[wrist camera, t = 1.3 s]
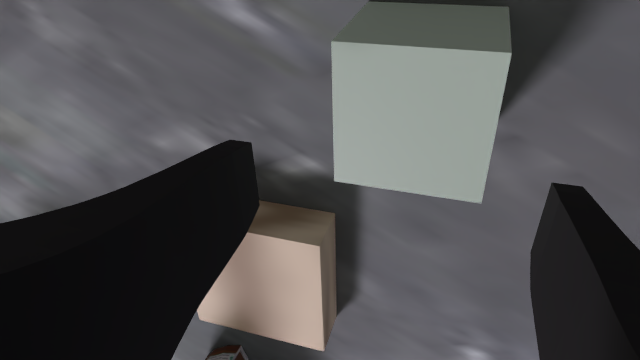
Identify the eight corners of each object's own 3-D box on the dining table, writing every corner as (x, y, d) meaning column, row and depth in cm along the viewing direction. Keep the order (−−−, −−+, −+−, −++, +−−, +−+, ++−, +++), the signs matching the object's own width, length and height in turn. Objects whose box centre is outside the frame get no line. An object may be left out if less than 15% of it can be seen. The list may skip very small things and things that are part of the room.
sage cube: (508, 6, 16) (511, 52, 12) (484, 132, 19) (481, 203, 15) (368, 0, 17) (331, 41, 14) (366, 119, 20) (334, 181, 16)
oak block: (337, 208, 24) (319, 246, 22) (338, 311, 28) (324, 351, 26) (201, 186, 26) (172, 218, 24) (222, 284, 31) (199, 319, 28)
